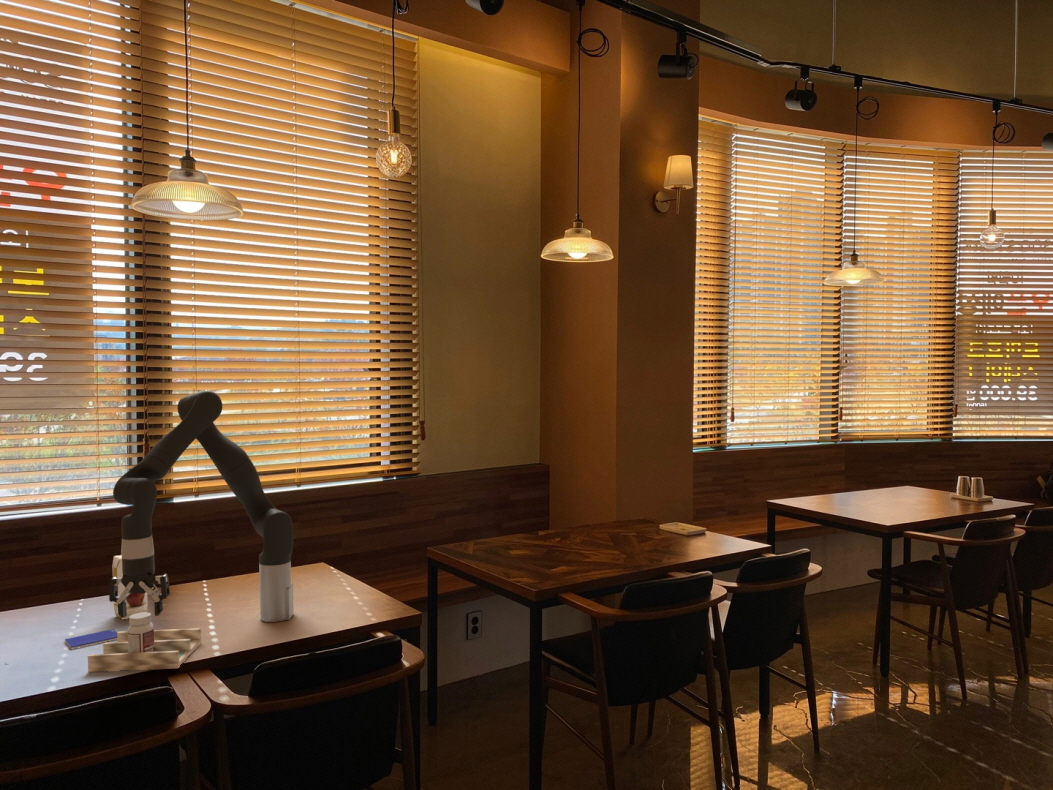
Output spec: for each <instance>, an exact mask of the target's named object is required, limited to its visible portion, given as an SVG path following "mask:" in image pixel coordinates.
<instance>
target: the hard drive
mask: <svg viewBox="0 0 1053 790" xmlns="http://www.w3.org/2000/svg"><path fill="white" fill-rule="evenodd" d="M117 633H118V632H117V631H116V630H115V629H114V628H111V629H108V630H103V631H98V632H92V633H88V634H84V635H83V634H82V635H78V636H73V637H69V638H65V639H64V643H65V642H66V643H67V644H68V645H69V647H70V648H71V649H72V650H74V649H73V648H77V649H79V648H78V647H82V648H84V647H83V646H86V647H89V646H88V645H91V646H94V645H93V644H96V645H98V644H97V643H100V644H102V643H101V642H105V643H107V642H106V641H110V642H112V641H111V640H114V641H116V640H115V639H117ZM66 643H65V644H66ZM67 644H66V645H67ZM68 645H67V646H68ZM69 647H68V648H69ZM70 648H69V649H70ZM71 649H70V650H71Z"/></svg>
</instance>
